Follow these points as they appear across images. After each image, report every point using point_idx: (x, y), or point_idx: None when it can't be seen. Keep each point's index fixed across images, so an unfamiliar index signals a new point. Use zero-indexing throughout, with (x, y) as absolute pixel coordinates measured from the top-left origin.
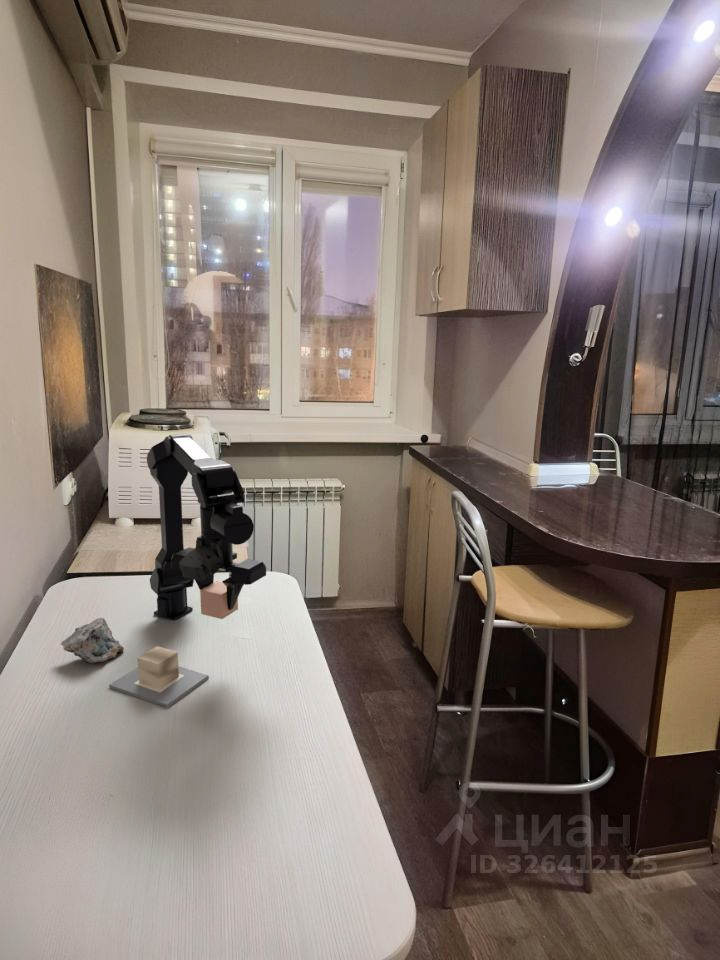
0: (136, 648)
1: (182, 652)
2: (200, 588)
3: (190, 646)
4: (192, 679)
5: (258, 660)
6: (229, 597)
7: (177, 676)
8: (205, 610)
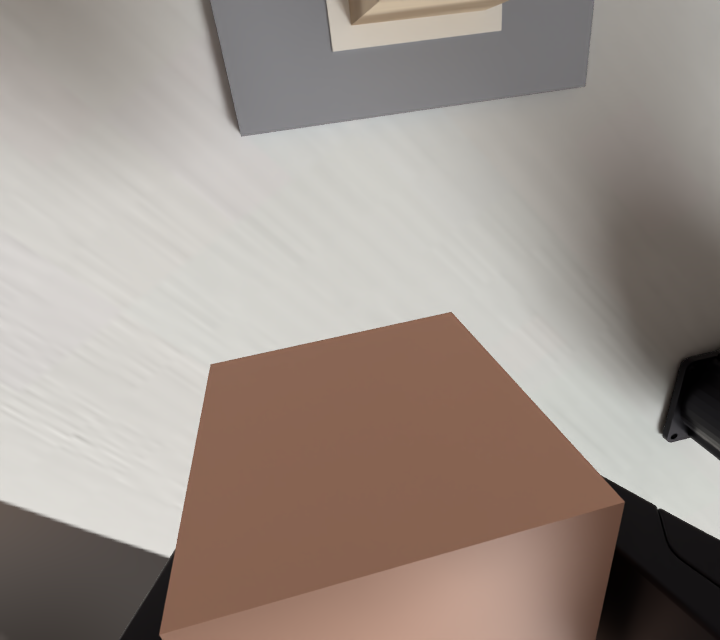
0: (702, 123)
1: (509, 224)
2: (656, 525)
3: (512, 276)
4: (272, 52)
5: (199, 373)
6: (150, 633)
7: (350, 11)
8: (417, 345)
